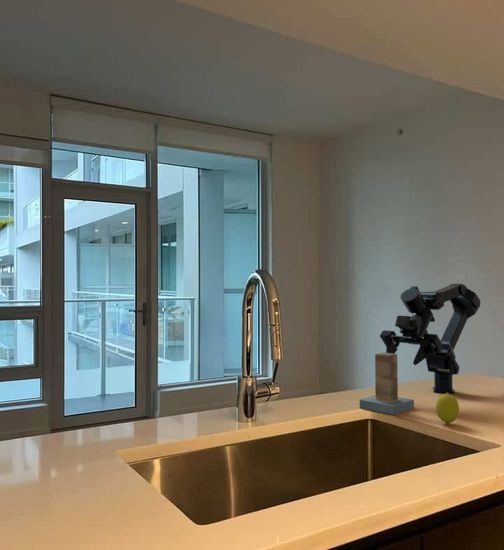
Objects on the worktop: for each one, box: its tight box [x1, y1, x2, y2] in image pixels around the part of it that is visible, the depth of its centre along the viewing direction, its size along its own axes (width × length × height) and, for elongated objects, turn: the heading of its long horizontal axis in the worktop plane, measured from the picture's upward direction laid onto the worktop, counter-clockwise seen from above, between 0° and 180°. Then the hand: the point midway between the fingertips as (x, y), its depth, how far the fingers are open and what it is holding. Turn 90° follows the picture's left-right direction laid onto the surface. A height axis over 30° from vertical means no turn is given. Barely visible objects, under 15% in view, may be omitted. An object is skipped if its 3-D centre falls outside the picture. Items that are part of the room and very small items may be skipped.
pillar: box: [374, 352, 399, 401], centre depth 150 cm, size 4×4×13 cm
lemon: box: [435, 393, 460, 425], centre depth 132 cm, size 6×6×8 cm
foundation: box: [359, 394, 415, 416], centre depth 150 cm, size 11×11×3 cm
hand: (400, 362), depth 155 cm, fingers open, 9 cm apart
